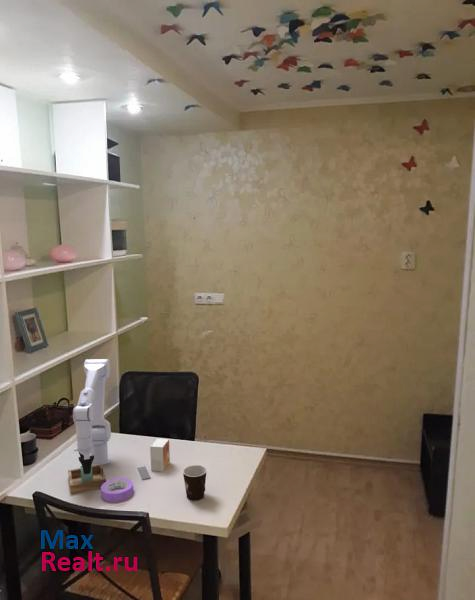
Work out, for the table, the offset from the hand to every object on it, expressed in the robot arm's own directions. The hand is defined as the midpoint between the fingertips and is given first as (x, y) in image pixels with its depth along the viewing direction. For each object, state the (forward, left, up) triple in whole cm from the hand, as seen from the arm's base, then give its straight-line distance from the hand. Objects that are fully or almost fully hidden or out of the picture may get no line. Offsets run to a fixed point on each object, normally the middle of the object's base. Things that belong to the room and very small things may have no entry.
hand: (86, 469), depth 186 cm
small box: (-2, +30, -6) cm, 30 cm away
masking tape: (+13, +10, -6) cm, 17 cm away
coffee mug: (+27, +36, -6) cm, 45 cm away
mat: (+1, +19, -6) cm, 19 cm away
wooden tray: (0, 0, -6) cm, 6 cm away
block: (0, 0, -5) cm, 5 cm away
